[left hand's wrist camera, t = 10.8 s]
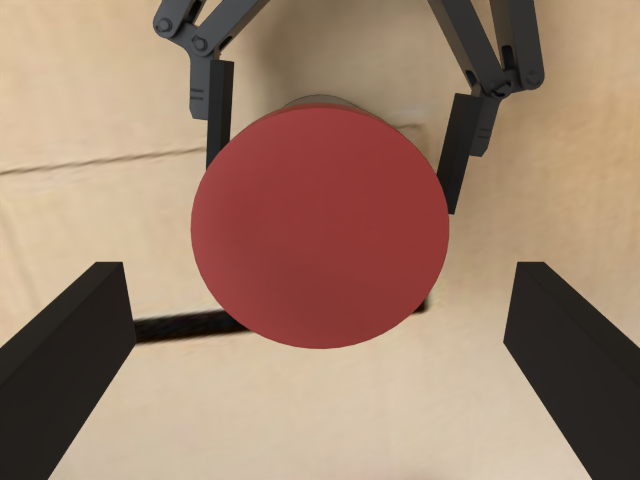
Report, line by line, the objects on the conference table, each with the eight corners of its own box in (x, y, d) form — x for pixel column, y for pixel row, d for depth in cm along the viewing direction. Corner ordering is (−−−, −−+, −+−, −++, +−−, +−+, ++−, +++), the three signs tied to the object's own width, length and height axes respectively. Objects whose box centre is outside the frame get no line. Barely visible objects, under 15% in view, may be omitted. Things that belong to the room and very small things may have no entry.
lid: (337, 45, 17) (340, 43, 15) (481, 237, 20) (499, 256, 18) (154, 208, 20) (135, 225, 18) (306, 359, 23) (305, 387, 21)
